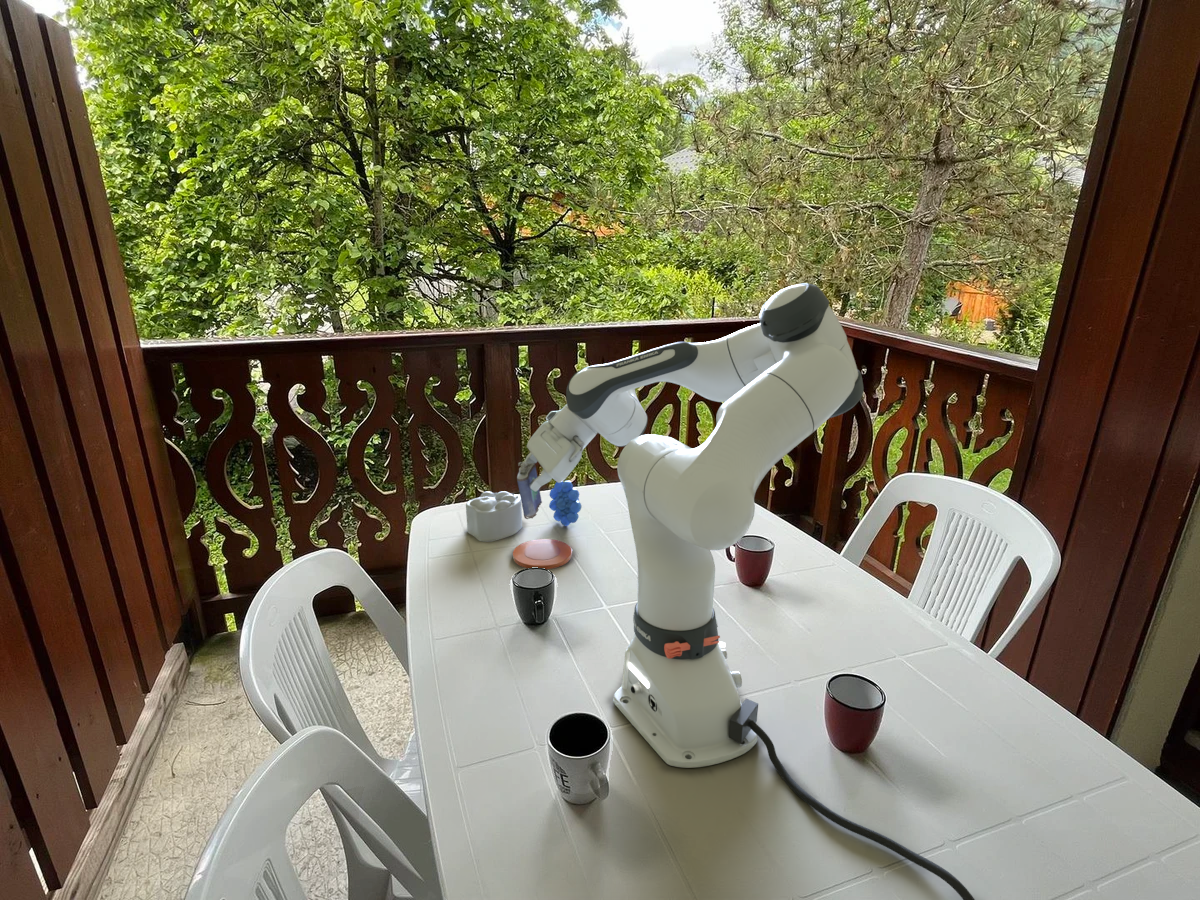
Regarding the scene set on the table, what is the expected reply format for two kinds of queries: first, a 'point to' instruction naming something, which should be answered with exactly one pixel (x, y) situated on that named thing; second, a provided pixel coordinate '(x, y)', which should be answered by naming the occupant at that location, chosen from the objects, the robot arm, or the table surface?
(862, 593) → the table surface
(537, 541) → the coaster
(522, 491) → the flask
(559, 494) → the grapes
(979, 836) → the table surface
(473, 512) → the lumpy-topped squat cylinder
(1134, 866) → the table surface
